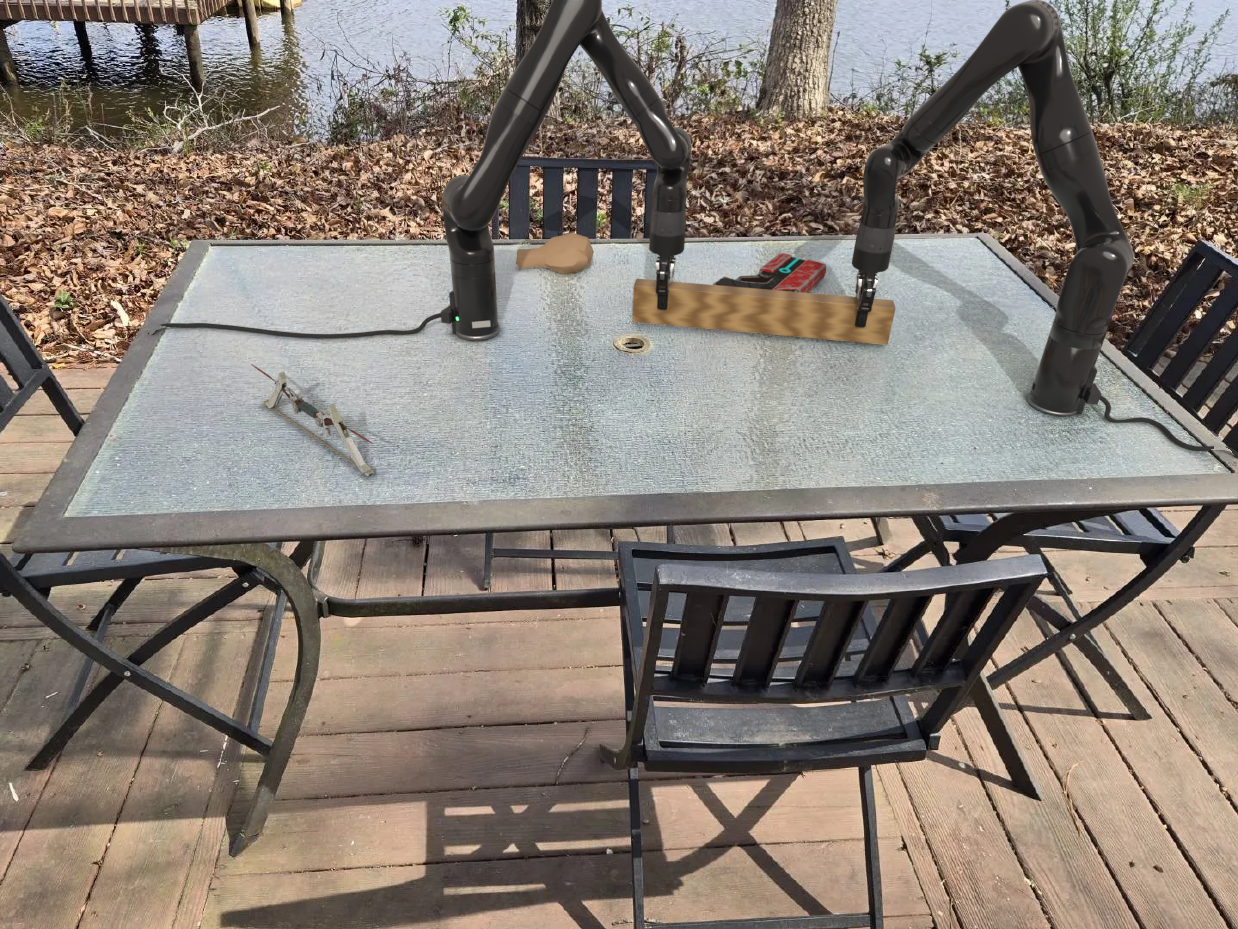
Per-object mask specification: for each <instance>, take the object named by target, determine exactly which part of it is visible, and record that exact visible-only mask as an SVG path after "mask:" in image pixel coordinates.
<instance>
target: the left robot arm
mask: <svg viewBox="0 0 1238 929" xmlns="http://www.w3.org/2000/svg"><path fill="white" fill-rule="evenodd" d="M579 46H580V47H581V48H582V50H583V51H584V52H585V53H586V55H587V56H588V57H589V58H590V59H591V61H592V62H593V64H594V65H595V67H596V68H597V69H598V71H599V72H600V74H601V76H602V77H603V78H604V80H605V82H606V83H607V85H608V87H609V88H610V90H611V92H612V93H613V95H614V97H615V98H616V100H617V102H618V103H619V104H620V105H621V107H622V109H623V110H624V112H625V113H626V115H627V117H628V118H629V119H630V120H631V122H632V123H633V124H634V126H635V127H636V129H637V131H638V133H639V136H640V138H641V140H642V142H643V144H644V146H645V149H646V150H647V152H648V154H649V156H650V157H651V159H652V160H653V161H654V163H655V164H656V165H657V166H656V177H655V180H654V183H653V186H652V199H651V200H652V202H651V211H650V218H649V220H650V221H649V242H648V249H649V251H650V252H651V253H653V254H655V255H658V256H657V258H656V261H655V270H656V271H655V280H656V294H658V300H657V308H658V309H660V310H666V309H667V306H668V293H669V284H670V283H671V282H673V278H674V276H675V266H676V262H677V257H675V256H678V255H680V254H683V253H684V251H685V243H686V227H687V211H686V210H687V209H686V208H687V194H688V193H687V192H688V191H687V188H688V187H687V186H688V177H689V172H690V171H689V170H690V166H691V159H692V140H691V137H690V135H689V133H688V132H687V131H686V130H685V129H684V128H682V127H678V126H673V124H672V123H671V121H670V118H669V117H668V115H667V108H666V105H665V103H664V101H663V100H662V98H661V97H660V95H659V93H658V92H657V90H656V89H655V87H654V86H653V85H652V83H651V81H650V80H649V79H648V78H647V76H646V74H645V73H644V72H643V71H642V69H641V68H640V66H638V64H637V63H636V62H635V60H634V59H633V58H632V57H631V55H630V54H629V53H628V52H627V51H626V50H625V48H624V47H623V45H622V44H621V43H620V40H618V38H617V36H616V35H615V33H614V31H613V30H612V28H611V26H610V24H609V22H608V19H607V17H606V15H605V12H604V11H603V0H551V3H550V5H549V8H548V10H547V12H546V15H545V17H544V20H543V22H542V24H541V26H540V29H539V31H538V33H537V35H536V38H535V39H534V41H533V42H532V44H531V46H530V47H529V49H528V50H527V52H525V54H524V56H523V57H522V59H521V60H520V62H519V63H518V65H517V67H516V68H515V70H514V71H513V72H512V74H511V76H510V78H509V80H508V81H507V83H506V84H505V86H504V89H503V90H502V92H501V94H500V96H499V97H498V99H497V101H496V103H495V105H494V108H493V109H492V112H491V115H490V119H489V122H488V126H487V130H486V135H485V139H484V143H483V148H482V151H481V154H480V156H479V158H478V160H477V162H476V164H475V165H474V167H473V169H472V171H471V173H470V174H469V175H467V174H466V175H465V174H462V175H461V174H460V175H457V176H455V177H453V178H451V179H450V180H449V181H448V182H447V183H446V185H445V187H444V189H443V192H442V198H441V200H442V201H441V202H442V204H441V206H442V216H443V225H444V233H445V234H444V235H445V240H446V244H447V248H448V252H449V263H450V264H449V265H450V275H451V276H450V277H451V286H452V290H451V291H450V292H448V297H449V305H448V306H446V307H445V308H443V309H442V310H441V311H440V312H439V313H434V314H432V315H430V316H427V317H426V318H425V319H424V320H423V321H422V322H421V324H420V325H419V326H418V327H416V328H412V329H407V330H402V329H401V330H400V329H399V330H398V329H382V330H372V331H361V332H347V333H345V332H344V333H306V332H305V333H304V332H292V331H281V330H273V329H264V328H255V327H248V326H241V325H233V324H232V325H231V324H223V323H222V324H220V323H208V322H189V323H188V322H187V323H186V322H184V323H183V322H181V323H180V322H168V323H162V324H161V323H160V325H161V326H166V327H170V328H169V329H173V328H175V329H176V328H177V329H178V328H179V329H180V328H181V329H182V328H183V329H189V328H191V329H192V328H206V329H219V330H230V331H239V332H246V333H247V332H248V333H254V334H263V335H269V336H270V335H271V336H279V337H288V338H300V339H302V338H303V339H349V338H362V337H363V338H364V337H365V338H366V337H373V336H383V335H396V336H397V335H399V336H406V335H407V336H408V335H414V334H418V333H420V332H421V331H423V330H424V329H425V327H426V326H427V325H428V323H430V322H432V321H434V320H436V319H440V321H441V322H440V323H442V324H445V325H446V324H447V325H451V332H452V334H453V335H456V336H457V337H458V338H460V339H462V340H464V341H470V342H479V341H481V342H482V341H486V340H487V341H488V340H491V339H493V338H494V337H495V338H496V337H497V335H499V333H500V325H499V312H498V311H499V310H498V296H497V295H498V294H497V293H498V292H497V276H496V275H497V274H496V261H495V259H496V258H495V245H494V242H493V240H492V236H491V232H490V227H489V224H490V223H491V222H492V220H493V219H494V217H495V215H496V213H497V211H498V208H499V207H500V203H501V201H502V198H503V196H504V194H505V191H506V190H507V187H508V184H509V183H510V180H511V179H512V176H513V174H514V172H515V171H516V169H517V167H518V166H519V164H520V162H521V160H522V158H523V156H524V155H525V153H526V152H527V149H528V148H529V146H530V144H531V142H532V141H533V139H534V137H535V136H536V135H537V132H538V131H539V129H540V127H541V125H542V123H543V121H544V120H545V118H546V116H547V114H548V113H549V110H550V108H551V106H552V104H553V102H554V100H555V97H556V95H557V93H558V90H559V88H560V85H561V82H562V81H563V77H564V74H565V72H566V70H567V67H568V65H569V62H570V61H571V59H572V58H573V56H574V55H575V52H576V51H577V49H578V48H579ZM660 286H665V288H660ZM158 331H159V330H157V331H156V332H158Z"/></svg>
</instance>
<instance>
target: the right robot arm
mask: <svg viewBox="0 0 1238 929" xmlns="http://www.w3.org/2000/svg"><path fill="white" fill-rule="evenodd" d="M1016 68H1018V70H1019V73H1020V75H1021V78H1022V80H1023V84H1024V86H1025V89H1026V93H1027V97H1028V107H1029V108H1028V109H1029V128H1030V137H1031V143H1032V147H1033V152H1034V155H1035V158H1036V161H1037V164H1038V167H1039V170H1040V173H1041V176H1042V178H1043V180H1044V182H1045V184H1046V186H1047V188H1048V189H1049V191H1050V192H1051V194H1052V195H1053V198H1055V200H1056V201H1057V203H1059V205H1060V206H1061V208H1062V209H1063V211H1064V213H1065V214H1066V217H1067V219H1068V221H1069V224H1070V227H1071V231H1072V234H1073V239H1074V243H1075V246H1076V247H1075V248H1076V253H1075V254H1074V255H1073V257H1072V258H1071V261H1070V262H1069V265H1068V268H1067V271H1066V274H1065V277H1064V280H1063V283H1062V286H1061V290H1060V294H1059V298H1058V300H1057V302H1056V303H1057V304H1056V312H1055V315H1054V318H1053V322H1052V325H1051V328H1050V330H1049V334H1048V337H1047V339H1046V343H1045V346H1044V349H1043V352H1042V355H1041V358H1040V361H1039V365H1038V367H1037V370H1036V374H1035V376H1034V378H1033V380H1032V383H1031V387H1030V392H1029V394H1028V395H1027V402H1028V404H1029V405H1030V406H1031V407H1033V408H1034V409H1035V410H1037V411H1039V412H1041V413H1045V414H1047V415H1051V416H1058V417H1070V416H1074V415H1083V411H1084V409H1085V406H1086V404H1087V405H1094V406H1096V405H1097V406H1098V404H1099V402H1102V403H1103V404H1104V406H1105V411H1104V414H1103V416H1104V419H1105V420H1106V421H1107V422H1108V423H1112V424H1126V423H1127V424H1128V423H1131V424H1132V423H1147V424H1150V425H1152V426H1155V427H1157V428H1158V429H1160V430H1161V431H1162V432H1163V433H1164V435H1165V436H1167V437H1168V439H1169V440H1171V441H1172V442H1173V443H1174V444H1175V445H1177V446H1179V447H1181V448H1183V449H1186V450H1189V451H1195V452H1210V451H1209V450H1211V449H1214V446H1215V445H1204V446H1203V445H1200V446H1199V445H1193V444H1189V443H1186V442H1184V441H1182V440H1180V439H1179V438H1177V437H1176V436H1175V435H1174V434H1173V432H1171V431H1170V430H1169V428H1167V427H1166V426H1165V425H1164V424H1162V423H1161V422H1159V421H1157V420H1155V419H1153V418H1148V417H1143V416H1141V417H1131V418H1125V419H1115V418H1113V417H1112V416H1110V414H1111V411H1112V405H1111V403H1110V401H1109V400H1108V399H1107V398H1106V397H1104V395H1102V392H1101V391H1100V389H1099V387H1098V386H1097V383H1095V379H1096V376H1097V374H1098V369H1097V367H1096V364H1097V362H1098V358H1099V355H1100V352H1101V350H1102V347H1103V344H1104V342H1105V339H1106V336H1107V333H1108V331H1109V328H1110V325H1111V323H1112V320H1113V314H1114V310H1115V308H1116V305H1117V302H1118V299H1119V296H1120V294H1121V291H1122V288H1123V286H1124V283H1125V280H1126V278H1127V277H1128V275H1129V274H1130V272H1131V270H1132V269H1133V267H1134V266H1133V265H1134V262H1135V254H1134V250H1133V247H1132V244H1131V242H1130V240H1129V238H1128V235H1127V234H1126V232H1125V230H1124V227H1123V225H1122V223H1121V221H1120V218H1119V216H1118V214H1117V211H1116V209H1115V206H1114V204H1113V201H1112V198H1111V194H1110V190H1109V184H1108V180H1107V177H1106V173H1105V168H1104V166H1103V162H1102V159H1101V154H1100V150H1099V147H1098V145H1097V141H1096V138H1095V135H1094V132H1093V128H1092V125H1091V123H1090V121H1089V118H1088V115H1087V112H1086V109H1085V105H1084V103H1083V101H1082V100H1083V99H1082V98H1081V95H1080V93H1079V91H1078V87H1077V85H1076V82H1075V81H1074V77H1073V74H1072V71H1071V67H1070V64H1069V59H1068V54H1067V49H1066V43H1065V38H1064V34H1063V27H1062V22H1061V18H1060V15H1059V13H1058V11H1057V10H1056V9H1055V7H1054V6H1053V5H1052V4H1050V3H1049V2H1047V1H1046V0H1027V1H1023V2H1019V3H1017V4H1014V5H1012V6H1010V7H1009V8H1007V9H1006V10H1005V11H1004V12H1003V13H1002V14H1001V15H1000V16H999V18H998V19H997V21H996V22H995V23H994V25H993V26H992V27H991V28H990V29H989V31H988V32H987V34H986V35H985V37H984V38H983V39H982V41H981V42H980V44H979V45H978V46H977V47H976V49H975V50H974V51H973V52H972V54H970V56H969V57H968V58H967V60H966V61H965V62H964V63H963V64H962V65H961V66H960V68H959V69H957V71H956V72H955V73H954V74H953V75H952V76H950V78H948V79H947V81H946V82H945V83H944V84H942V85H941V86H940V87H939V89H937V90H936V91H935V92H934V93H933V94H931V96H930V97H929V98H927V100H926V101H925V102H924V103H923V104H922V105H921V106H920V107H918V109H917V110H916V111H915V112H913V114H912V115H910V117H909V118H908V119H907V120H906V121H905V122H904V124H903V127H902V129H901V130H900V132H899V133H898V134H896V136H895V137H894V138H892V139H891V141H889V142H888V143H886V144H884V145H882V146H879V147H877V148H875V149H873V150H872V152H870V153H869V155H868V157H867V158H866V161H865V164H864V168H863V175H862V176H863V177H862V179H863V182H862V183H863V184H862V185H863V205H862V209H861V214H860V222H859V224H858V227H857V231H856V236H855V241H854V248H853V252H852V258H851V266H852V267H853V269H856V270H857V271H858V272H857V274H856V283H855V290H854V292H855V296H854V297H857V299H859V302H858V307H857V315H856V321H855V326H856V327H865V326H866V322H867V317H868V312H871V310H872V305H873V301H874V299H875V297H876V293H877V287H878V284H879V283H878V282H879V278H878V274H879V273H883V272H886V271H887V270H888V269H889V266H890V262H891V256H892V252H893V246H894V241H895V236H896V225H897V220H898V217H899V216H898V215H899V211H900V203H901V202H900V198H899V196H898V195H896V192H897V184H898V181H899V179H901V178H903V177H905V176H906V175H907V174H909V172H911V171H912V170H913V169H914V168H915V167H916V166H917V165H918V164H919V162H921V160H922V159H923V158H924V157H925V156H926V154H928V152H929V151H930V150H931V149H932V148H933V147H934V146H936V145H937V144H938V143H939V142H940V141H941V140H942V139H943V138H944V137H945V136H947V135H948V134H949V133H950V132H951V131H952V129H954V128H955V127H956V126H957V125H958V124H959V123H960V122H961V120H962V119H963V118H964V117H965V116H967V114H968V113H969V112H970V111H971V109H972V108H973V106H974V105H975V104H976V103H977V102H978V101H979V100H980V99H981V97H982V96H984V94H986V92H987V91H989V90H990V89H991V87H993V86H994V85H995V84H996V83H997V82H998V81H1000V80H1001V79H1003V78H1004V77H1005V76H1006V75H1008V74H1010V73H1011V72H1012V71H1014V70H1016ZM863 303H868V305H867V306H866V305H863ZM1224 446H1225V445H1224ZM1225 447H1226V448H1228V449H1230V450H1231V451H1232V453H1233V454H1234V456H1233V457H1234V459H1237V460H1238V451H1237V450H1235V449H1234V448H1232V447H1229V446H1225Z"/></svg>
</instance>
